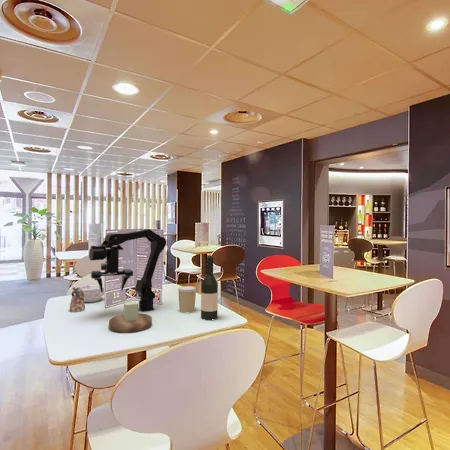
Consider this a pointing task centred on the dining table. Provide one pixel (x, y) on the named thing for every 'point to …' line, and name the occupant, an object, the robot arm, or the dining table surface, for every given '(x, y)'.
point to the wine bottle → (209, 293)
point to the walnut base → (130, 324)
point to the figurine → (77, 300)
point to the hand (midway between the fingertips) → (112, 291)
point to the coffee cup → (187, 298)
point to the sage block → (130, 311)
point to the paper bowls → (92, 293)
